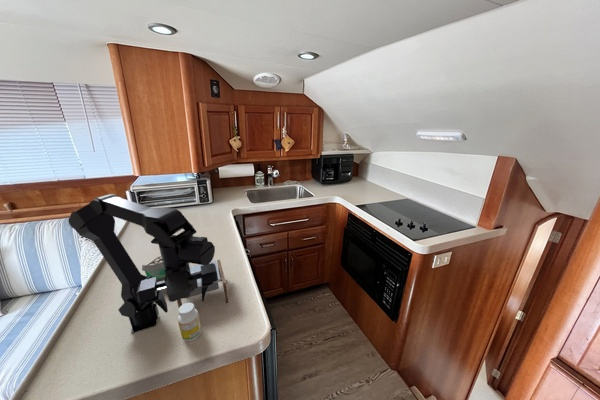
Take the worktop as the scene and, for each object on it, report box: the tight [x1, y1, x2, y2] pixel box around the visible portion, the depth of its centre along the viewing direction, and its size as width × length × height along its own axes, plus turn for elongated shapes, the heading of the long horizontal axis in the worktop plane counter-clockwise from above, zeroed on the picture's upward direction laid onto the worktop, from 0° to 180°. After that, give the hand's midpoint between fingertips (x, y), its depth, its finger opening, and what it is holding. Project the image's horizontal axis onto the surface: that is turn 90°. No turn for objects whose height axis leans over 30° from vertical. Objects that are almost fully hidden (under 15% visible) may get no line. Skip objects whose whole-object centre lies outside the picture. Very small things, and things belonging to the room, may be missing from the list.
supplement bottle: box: [177, 302, 202, 342], centre depth 66 cm, size 5×5×10 cm
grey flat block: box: [186, 260, 222, 299], centre depth 80 cm, size 13×14×3 cm
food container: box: [141, 255, 166, 282], centre depth 90 cm, size 12×6×10 cm, turn 160°
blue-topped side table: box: [176, 259, 230, 309], centre depth 81 cm, size 15×15×8 cm
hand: (185, 305), depth 65 cm, fingers open, 9 cm apart
